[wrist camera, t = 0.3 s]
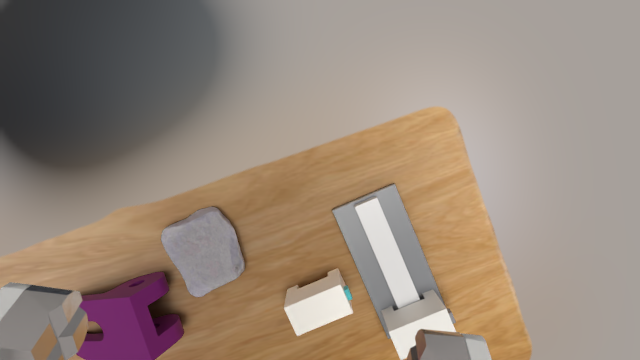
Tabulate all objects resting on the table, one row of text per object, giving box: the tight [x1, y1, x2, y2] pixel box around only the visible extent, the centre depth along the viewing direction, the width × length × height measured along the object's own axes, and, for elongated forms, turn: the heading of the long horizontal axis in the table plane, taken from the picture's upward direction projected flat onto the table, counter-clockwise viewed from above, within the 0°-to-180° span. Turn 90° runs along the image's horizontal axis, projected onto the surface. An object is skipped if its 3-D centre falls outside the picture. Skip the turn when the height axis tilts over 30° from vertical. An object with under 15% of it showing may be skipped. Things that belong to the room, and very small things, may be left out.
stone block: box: [161, 206, 245, 297], centre depth 63 cm, size 12×5×10 cm
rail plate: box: [332, 183, 445, 339], centre depth 63 cm, size 22×10×2 cm, turn 23°
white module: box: [284, 268, 353, 336], centre depth 62 cm, size 4×9×7 cm, turn 114°
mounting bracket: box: [76, 272, 184, 360], centre depth 64 cm, size 9×8×18 cm
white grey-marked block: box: [381, 289, 456, 360], centre depth 61 cm, size 4×9×7 cm, turn 113°
